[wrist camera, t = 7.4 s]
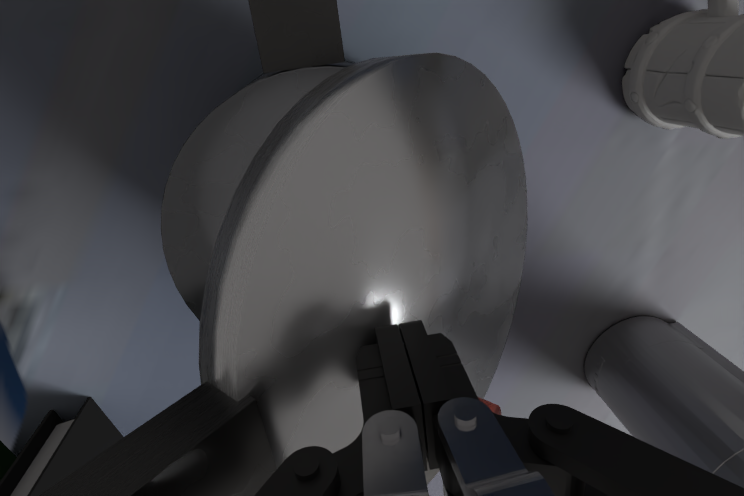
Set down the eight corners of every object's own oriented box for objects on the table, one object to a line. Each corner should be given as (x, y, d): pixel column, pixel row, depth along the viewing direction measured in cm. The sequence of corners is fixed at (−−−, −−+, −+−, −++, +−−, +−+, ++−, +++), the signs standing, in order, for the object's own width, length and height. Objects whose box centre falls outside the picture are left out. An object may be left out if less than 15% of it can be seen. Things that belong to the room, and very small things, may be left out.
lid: (495, 34, 20) (583, 25, 17) (497, 347, 27) (560, 369, 24) (-175, 162, 6) (-165, 191, 4) (184, 724, 13) (261, 849, 11)
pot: (441, -36, 29) (523, -84, 18) (457, 300, 39) (515, 399, 28) (160, -1, 28) (64, -30, 17) (254, 335, 38) (232, 453, 27)
